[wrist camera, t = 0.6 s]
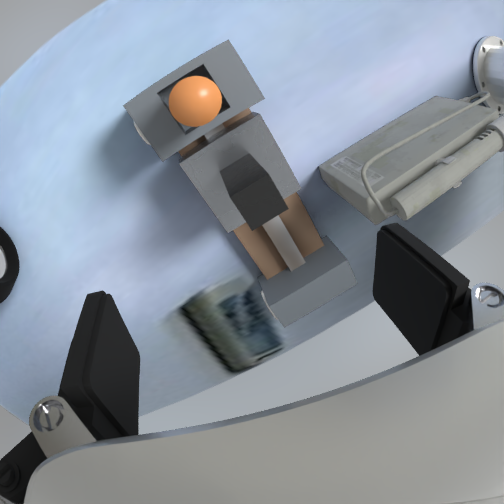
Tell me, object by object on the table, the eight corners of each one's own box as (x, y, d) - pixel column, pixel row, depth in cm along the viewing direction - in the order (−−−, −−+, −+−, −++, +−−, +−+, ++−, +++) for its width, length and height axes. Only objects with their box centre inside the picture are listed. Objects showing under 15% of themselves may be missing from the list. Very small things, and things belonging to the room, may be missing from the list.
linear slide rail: (220, 48, 27) (228, 39, 22) (337, 258, 41) (357, 283, 36) (131, 104, 28) (120, 107, 23) (270, 298, 42) (282, 328, 37)
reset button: (201, 69, 22) (204, 66, 19) (225, 106, 24) (231, 108, 20) (162, 94, 22) (158, 94, 19) (186, 129, 24) (186, 136, 21)
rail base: (212, 53, 27) (214, 50, 25) (331, 262, 42) (338, 272, 39) (142, 96, 28) (139, 97, 25) (278, 293, 42) (283, 305, 40)
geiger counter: (395, 253, 25) (544, 132, 22) (373, 192, 22) (536, 81, 19) (330, 195, 37) (466, 108, 34) (306, 150, 34) (453, 67, 31)
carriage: (252, 111, 28) (283, 122, 19) (291, 179, 32) (331, 217, 23) (179, 156, 29) (177, 188, 20) (224, 220, 33) (240, 273, 24)
